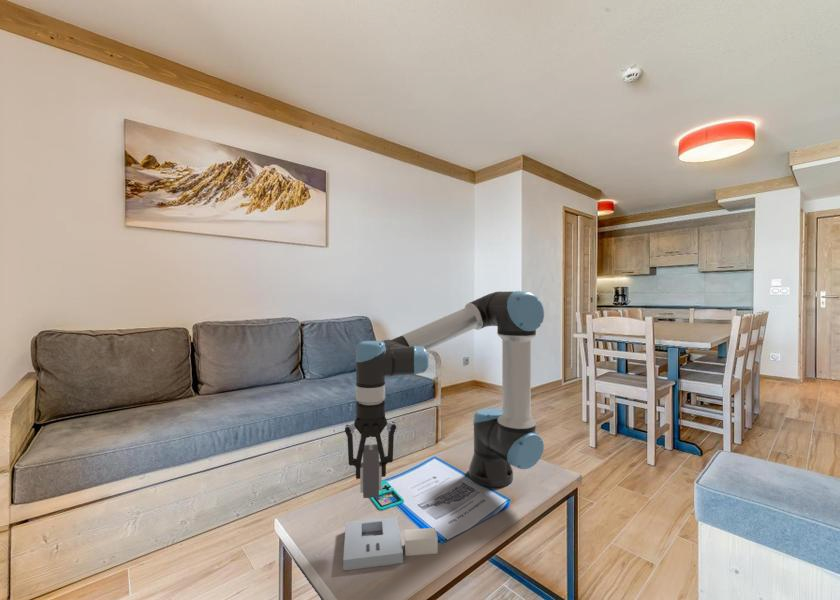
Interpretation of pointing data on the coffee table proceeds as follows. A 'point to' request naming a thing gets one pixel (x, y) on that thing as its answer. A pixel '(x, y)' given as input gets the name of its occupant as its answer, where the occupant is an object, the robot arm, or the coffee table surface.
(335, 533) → the coffee table surface
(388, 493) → the handheld gaming console
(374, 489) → the charger brick
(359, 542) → the outlet plate
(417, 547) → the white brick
